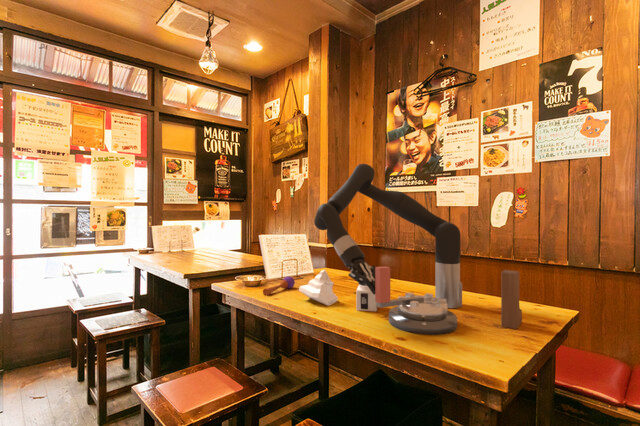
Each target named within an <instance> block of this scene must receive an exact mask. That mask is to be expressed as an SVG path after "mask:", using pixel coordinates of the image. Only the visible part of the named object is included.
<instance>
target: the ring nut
mask: <svg viewBox="0 0 640 426" xmlns="http://www.w3.org/2000/svg"><path fill="white" fill-rule="evenodd" d="M375 301H376V302H377V308H380V309H381V308H389V307H397V306H398V313H399V314H400V315H401V316H403V317H406V318H409V319H414V320H421V321H437V320H442V319H445V318H446V317H447V310H448V308H447V302H446V298H435V297H434V294H433V293H430V292H429V293H428V292H427V293H425V294H424V295H415V293H413V292H405V296H403V295H400V296H399V295H398V297H397V298H396V299H391V266H390V267H389V266H375Z"/></svg>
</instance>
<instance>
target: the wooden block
mask: <svg viewBox="0 0 640 426" xmlns="http://www.w3.org/2000/svg"><path fill="white" fill-rule="evenodd" d="M500 277H501V279H500V280H501V281H500V282H501V285H500V288H501V290H500V292H501V293H500V294H501V295H500V298H501V301H500V302H501V303H500V307H501V308H500V314H501V316H500V318H501V319H500V323H501V327H502V328H507V329H514V330H517V329H518V328H519V327H520V325H521V324H522V319H523V318H522V316H523V314H522V313H523V311H522V309H521V307H520V272H519V271H518V270H509V269H504V270H503V271H501V276H500Z"/></svg>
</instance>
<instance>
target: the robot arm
mask: <svg viewBox="0 0 640 426" xmlns="http://www.w3.org/2000/svg"><path fill="white" fill-rule="evenodd" d="M375 173H376V172H375V169H374V167H373V166H371V165H369V164H368V163H359V164H358V165H356V167H355V168H354V170H353V171H352V173H351V175H350V176H349V178H348V179H347V180H346V181H345V182H344V183H343V184H342V186H341V187H340V188H339V189H338V190H336V192H335V193H334V194H333V195H332V196H331V197H330V198H329V199H328V200H327V203H326V202H325V203H322V204H320V205H319V206H318V208H317V210H316V214H315V217H314V221H313V222H314V226H315V227H316V228H317V229H318V230H320V231H326V236H327V239H328V240H329V242H330V244H331V245H332V246H333V248H334V249H335V252H336V254H337V255H338V257H339V258H340V260H341V261H342V262H343V264H344V266H345V267H346V268H347V269H349V270H350V271H349V273H348V277H350V278H351V279H352V280H354V281H356V282H357V283H358V284H359V283H360V284H361V285H363V284H365V285H366V286H368V287H369V289H370V290H371V292H372V293H373V294H375V267H376V266H375V265H372V266H371V265H370V264H369V263H368V262H367V261H366V260H365V253H364V252H363V251H362V249H361V247H360V246H359V245H358V244H357V242H356V241H355V239H353V238H352V236H351V235H350V233H348V231H347V230H346V228H345V227H344V224H343V221H342V219H341V217H340V215H341V214H342V212H344V210H345V209H346V208H348V206H349V205H350V203H351V202H352V201H353V199H354V198H355V197H356V195H357V193H359V194H362V195H363V196H366V197H367V198H370V199H371V200H373V201H375V202H376V203H379V204H380V205H382V206H383V207H384V208H386V209H387V210H389V211H391V212H392V213H394V214H396V216H398V217H400V218H402V219H403V220H405V221H407V222H409V223H412V224H413V225H415V226H417V227H420V228H422V229H423V230H424V231H426V232H427V233H428V234H430V235H432V236H433V237H434V238H435V243H434V244H435V248H434V249H435V251H434V252H435V253H434V254H435V255H434V256H435V260H434V261H435V262H434V263H435V265H434V266H435V280H434V282H435V285H434V286H435V288H434V289H435V292H434V293H435V295H434V296H435V298H446V302H447V309H458V308H460V307H461V308H462V307H463V282H461V248H462V247H461V246H462V245H461V244H462V243H461V241H462V239H461V237H462V235H461V231H460V229H459V227H458V226H457V225H456V224H454V223H452V222H449V221H447V220H445V219H444V218H441V217H439V216H437V215H435V214H434V213H433V212H431V211H430V210H428V209H427V208H426V207H425V206H424V205H422V204H421V203H420V202H419V201H417V200H416V199H414V198H413V197H411V196H410V195H408V194H406V193H404V192H402V191H398V190H397V191H396V190H386V189H381V188H379V187H377V186H375V185H374V184H372V182H373V181H374V178H375V176H376V175H375Z"/></svg>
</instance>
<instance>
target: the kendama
mask: <svg viewBox="0 0 640 426" xmlns="http://www.w3.org/2000/svg"><path fill="white" fill-rule="evenodd" d="M295 283H296V282H295V279H294V278H293V277H292V276H286V277H284V278H283V279H282V280H281V282H280V283H279V284H277V285H275V286H269V287H266V288H263V289H262V294H263V295H264V296H266V295H267V296H269V295H270V294H272V293H273V292H276V291H277V290H278V289H281V288H282V289H289V290H290V289H292V288H293V287H294V286H295Z"/></svg>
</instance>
